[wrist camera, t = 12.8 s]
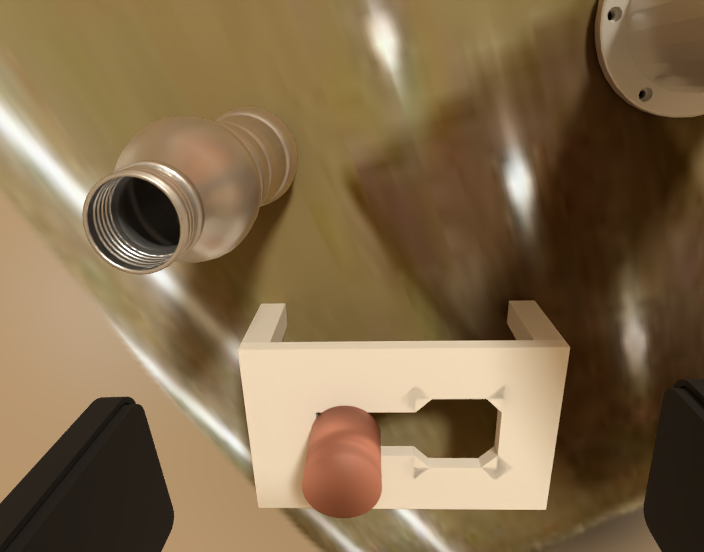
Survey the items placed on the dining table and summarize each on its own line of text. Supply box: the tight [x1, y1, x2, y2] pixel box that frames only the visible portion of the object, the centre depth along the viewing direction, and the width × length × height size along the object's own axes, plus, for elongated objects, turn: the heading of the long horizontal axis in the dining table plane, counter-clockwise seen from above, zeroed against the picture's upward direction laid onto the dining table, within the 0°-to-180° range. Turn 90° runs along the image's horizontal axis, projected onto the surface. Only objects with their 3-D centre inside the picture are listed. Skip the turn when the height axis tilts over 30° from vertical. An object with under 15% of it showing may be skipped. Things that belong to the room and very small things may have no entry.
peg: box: [302, 406, 382, 518], centre depth 35 cm, size 5×5×11 cm
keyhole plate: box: [238, 300, 570, 510], centre depth 38 cm, size 22×14×8 cm, turn 92°
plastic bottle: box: [83, 106, 298, 275], centre depth 26 cm, size 6×7×20 cm
